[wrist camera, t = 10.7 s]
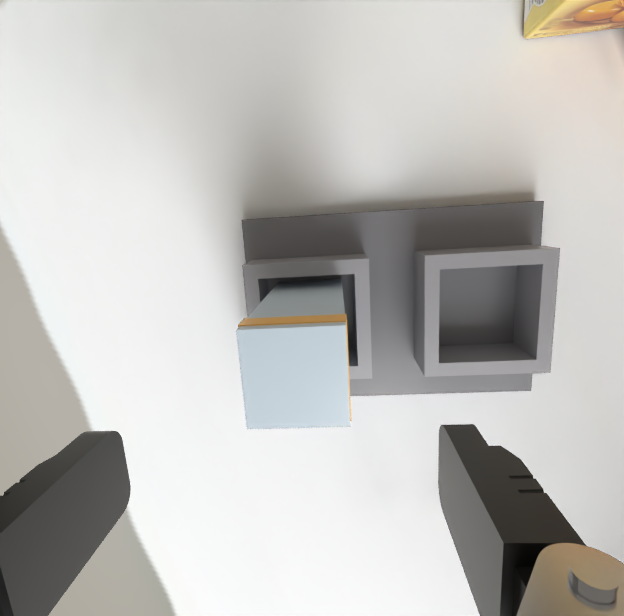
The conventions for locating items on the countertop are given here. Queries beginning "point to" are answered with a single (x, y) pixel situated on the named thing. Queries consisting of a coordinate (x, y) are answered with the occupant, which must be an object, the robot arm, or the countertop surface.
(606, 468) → the countertop surface
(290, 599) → the countertop surface
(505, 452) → the robot arm
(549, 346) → the grey boxy piece
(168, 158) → the countertop surface
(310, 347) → the plug
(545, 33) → the candy box
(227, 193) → the countertop surface
